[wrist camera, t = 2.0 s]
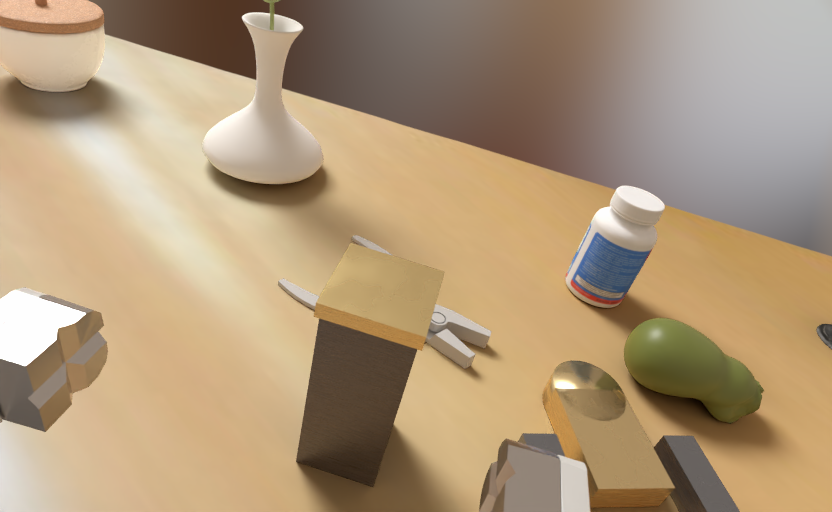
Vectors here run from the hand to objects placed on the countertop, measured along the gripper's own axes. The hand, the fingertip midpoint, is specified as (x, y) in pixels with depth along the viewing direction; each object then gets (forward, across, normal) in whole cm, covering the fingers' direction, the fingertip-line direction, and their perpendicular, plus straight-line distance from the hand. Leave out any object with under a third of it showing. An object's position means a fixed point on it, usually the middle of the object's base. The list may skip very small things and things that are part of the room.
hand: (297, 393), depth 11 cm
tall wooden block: (+12, 0, +18) cm, 22 cm away
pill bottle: (+35, -16, +19) cm, 43 cm away
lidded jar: (+43, +43, +18) cm, 64 cm away
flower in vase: (+40, +18, +18) cm, 47 cm away
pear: (+25, -22, +19) cm, 39 cm away
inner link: (+18, -15, +19) cm, 30 cm away
